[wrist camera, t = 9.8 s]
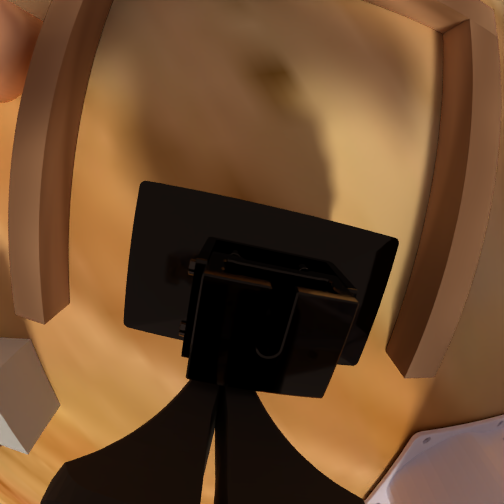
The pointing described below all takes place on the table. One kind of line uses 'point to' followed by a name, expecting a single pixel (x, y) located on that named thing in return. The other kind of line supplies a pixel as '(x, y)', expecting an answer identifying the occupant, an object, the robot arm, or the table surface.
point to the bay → (439, 207)
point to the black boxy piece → (253, 288)
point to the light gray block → (23, 395)
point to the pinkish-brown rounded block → (15, 48)
